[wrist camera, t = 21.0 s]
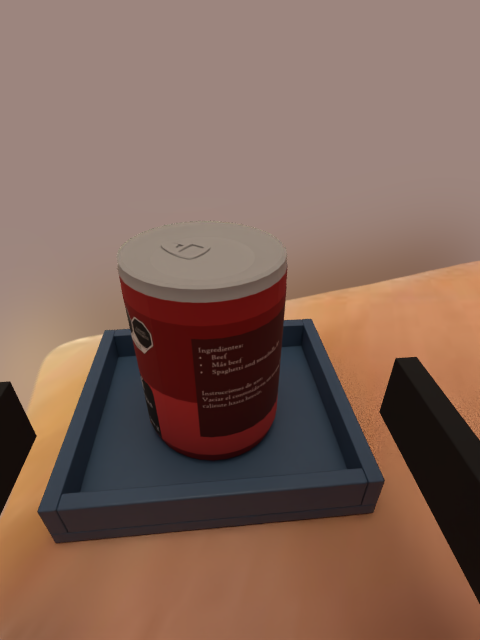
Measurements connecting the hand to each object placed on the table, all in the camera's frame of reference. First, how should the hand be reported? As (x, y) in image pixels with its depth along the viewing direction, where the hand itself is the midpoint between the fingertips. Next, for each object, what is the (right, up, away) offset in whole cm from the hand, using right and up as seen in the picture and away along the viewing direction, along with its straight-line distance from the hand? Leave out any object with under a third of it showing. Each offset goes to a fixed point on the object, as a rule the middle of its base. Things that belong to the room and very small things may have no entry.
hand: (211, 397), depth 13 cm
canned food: (-1, -3, +10) cm, 11 cm away
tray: (-1, -4, +11) cm, 11 cm away
